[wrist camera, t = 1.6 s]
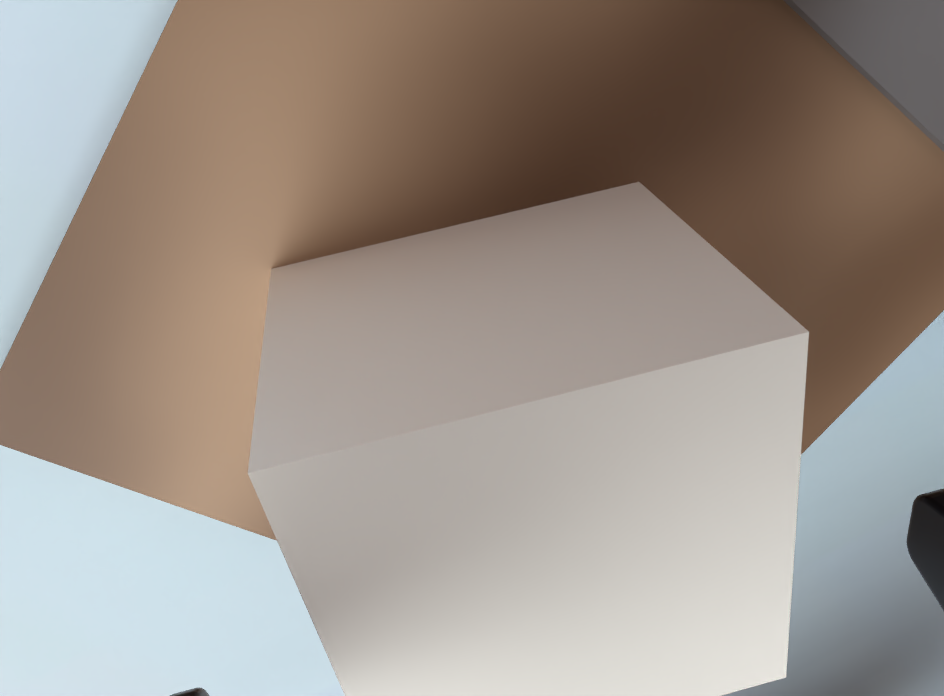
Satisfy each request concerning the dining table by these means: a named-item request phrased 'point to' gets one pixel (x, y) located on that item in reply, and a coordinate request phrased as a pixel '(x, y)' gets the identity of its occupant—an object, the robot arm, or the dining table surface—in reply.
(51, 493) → the dining table surface
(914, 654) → the dining table surface
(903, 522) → the dining table surface
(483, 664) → the off-white cube box
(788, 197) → the post stand
